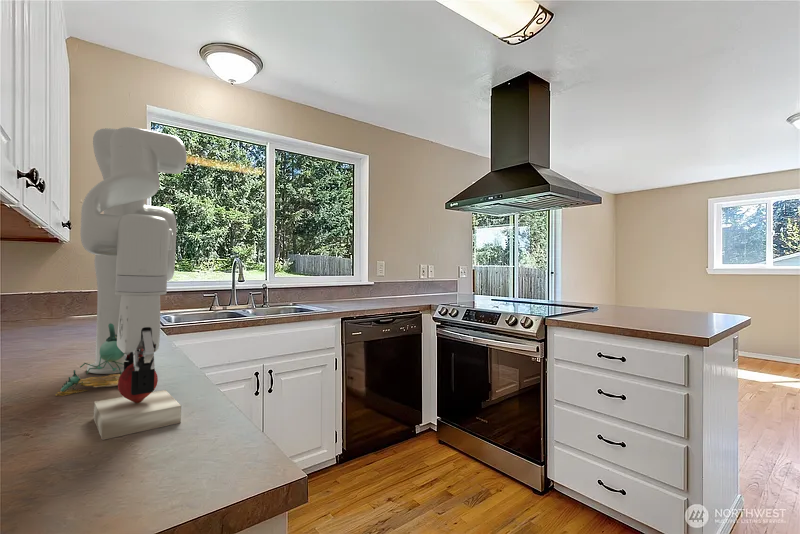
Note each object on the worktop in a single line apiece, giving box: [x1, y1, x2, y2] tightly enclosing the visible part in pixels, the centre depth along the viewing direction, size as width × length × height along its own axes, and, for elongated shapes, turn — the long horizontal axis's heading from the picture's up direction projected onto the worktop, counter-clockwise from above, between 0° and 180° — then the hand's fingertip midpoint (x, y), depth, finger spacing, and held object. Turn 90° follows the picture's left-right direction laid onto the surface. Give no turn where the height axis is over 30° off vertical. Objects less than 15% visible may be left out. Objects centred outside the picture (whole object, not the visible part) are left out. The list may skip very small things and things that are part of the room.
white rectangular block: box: [93, 389, 182, 441], centre depth 69 cm, size 11×11×3 cm
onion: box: [117, 357, 159, 403], centre depth 69 cm, size 6×6×8 cm
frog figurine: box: [55, 323, 124, 397], centre depth 88 cm, size 10×18×15 cm, turn 137°
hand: (138, 387), depth 69 cm, fingers open, 6 cm apart
